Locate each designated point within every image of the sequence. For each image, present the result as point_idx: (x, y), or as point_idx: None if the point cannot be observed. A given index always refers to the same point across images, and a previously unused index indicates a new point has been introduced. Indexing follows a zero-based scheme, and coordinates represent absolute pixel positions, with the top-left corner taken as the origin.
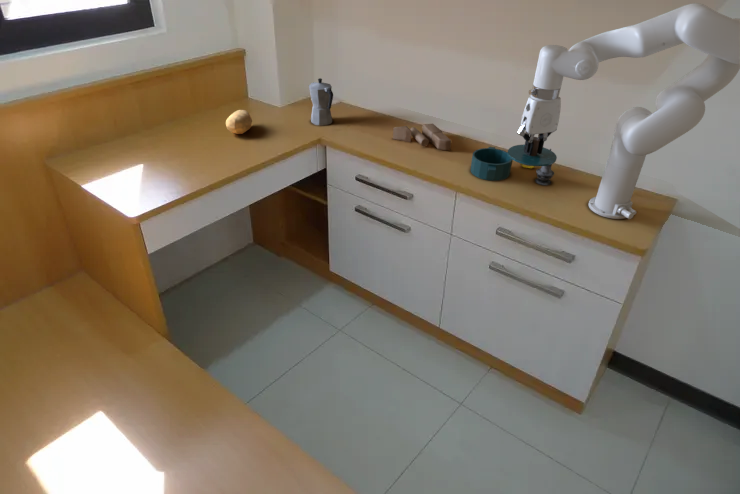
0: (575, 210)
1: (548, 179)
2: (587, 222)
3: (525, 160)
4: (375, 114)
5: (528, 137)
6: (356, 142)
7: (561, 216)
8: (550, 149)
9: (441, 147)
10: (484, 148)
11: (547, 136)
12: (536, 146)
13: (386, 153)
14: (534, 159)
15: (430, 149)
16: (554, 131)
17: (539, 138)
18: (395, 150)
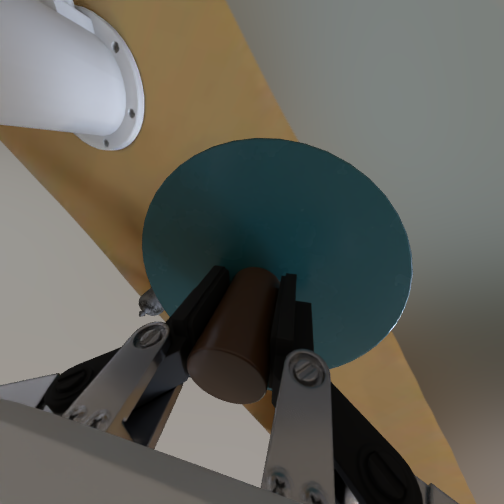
0: (184, 110)
1: None
2: (181, 19)
3: (359, 237)
4: None
5: (337, 435)
6: (441, 486)
7: (238, 85)
8: (141, 313)
9: None
10: (269, 389)
11: (114, 355)
12: (242, 306)
13: (423, 449)
14: (288, 229)
15: None
16: (19, 381)
17: (189, 364)
18: (396, 446)
